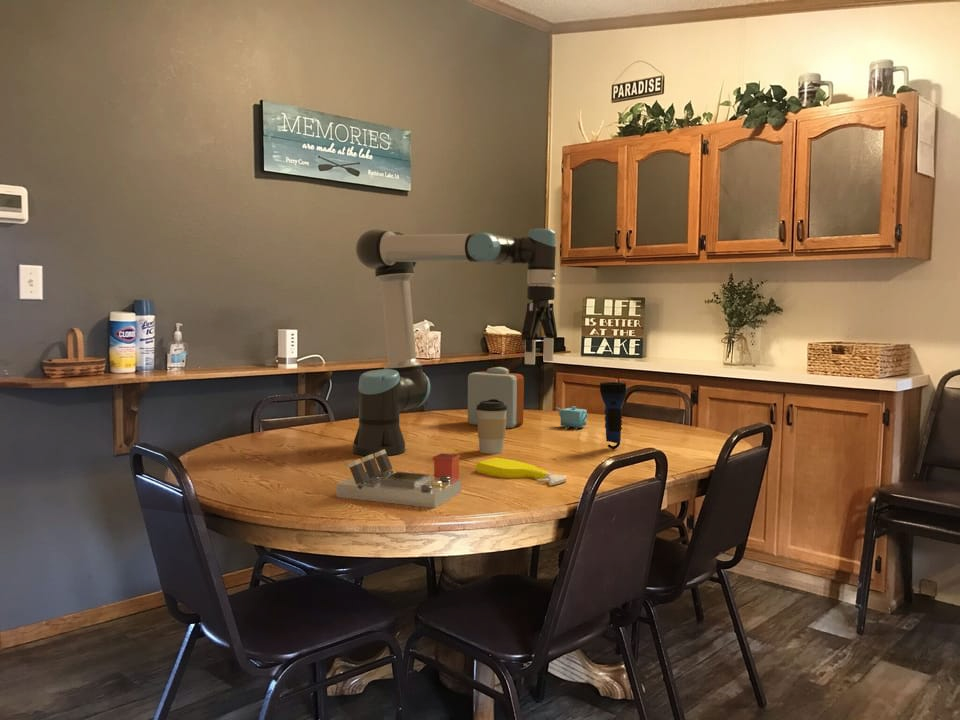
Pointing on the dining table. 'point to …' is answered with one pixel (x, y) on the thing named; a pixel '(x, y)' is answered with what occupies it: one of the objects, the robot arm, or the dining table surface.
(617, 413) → the flashlight
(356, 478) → the breaker
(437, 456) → the lockout cap
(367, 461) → the breaker
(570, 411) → the teapot
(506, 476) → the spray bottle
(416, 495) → the panel
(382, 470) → the breaker
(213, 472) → the dining table surface
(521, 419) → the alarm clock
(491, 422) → the coffee cup
